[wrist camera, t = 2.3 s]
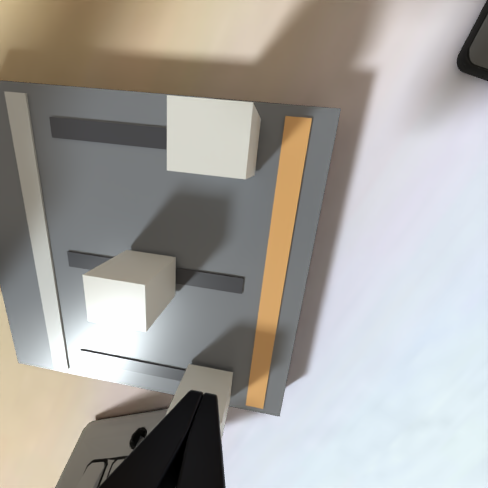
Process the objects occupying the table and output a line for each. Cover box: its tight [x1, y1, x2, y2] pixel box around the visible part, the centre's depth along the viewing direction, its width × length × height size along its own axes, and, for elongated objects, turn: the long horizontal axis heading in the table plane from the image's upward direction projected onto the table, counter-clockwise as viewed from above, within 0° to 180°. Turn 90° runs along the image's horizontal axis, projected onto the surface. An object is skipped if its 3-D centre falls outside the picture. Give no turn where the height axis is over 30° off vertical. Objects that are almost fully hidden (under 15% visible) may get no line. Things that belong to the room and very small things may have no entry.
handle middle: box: [82, 250, 176, 332], centre depth 13 cm, size 3×2×4 cm
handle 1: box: [167, 95, 261, 179], centre depth 11 cm, size 3×2×4 cm
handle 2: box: [166, 364, 233, 441], centre depth 15 cm, size 3×2×4 cm
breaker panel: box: [0, 81, 341, 416], centre depth 16 cm, size 20×19×2 cm
